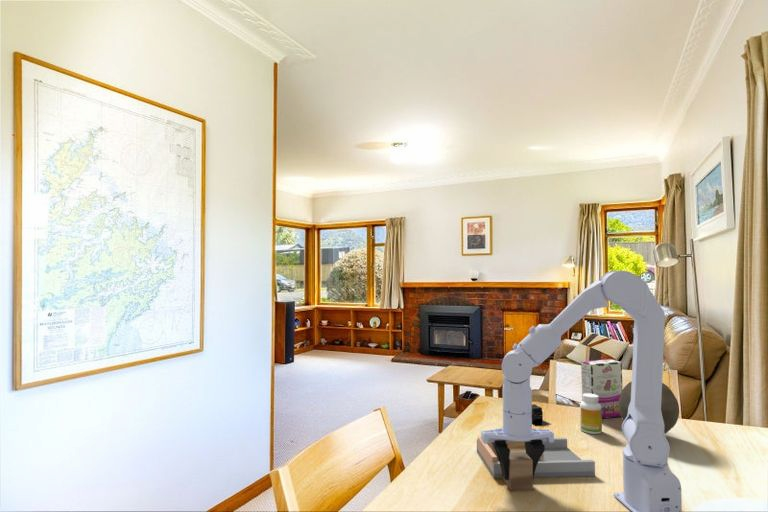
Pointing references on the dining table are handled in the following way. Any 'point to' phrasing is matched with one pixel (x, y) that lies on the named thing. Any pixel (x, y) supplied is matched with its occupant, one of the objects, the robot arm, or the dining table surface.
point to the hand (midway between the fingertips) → (517, 477)
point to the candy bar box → (603, 384)
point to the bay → (554, 465)
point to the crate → (513, 448)
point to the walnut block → (520, 472)
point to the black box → (538, 416)
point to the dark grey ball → (667, 405)
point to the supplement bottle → (590, 414)
